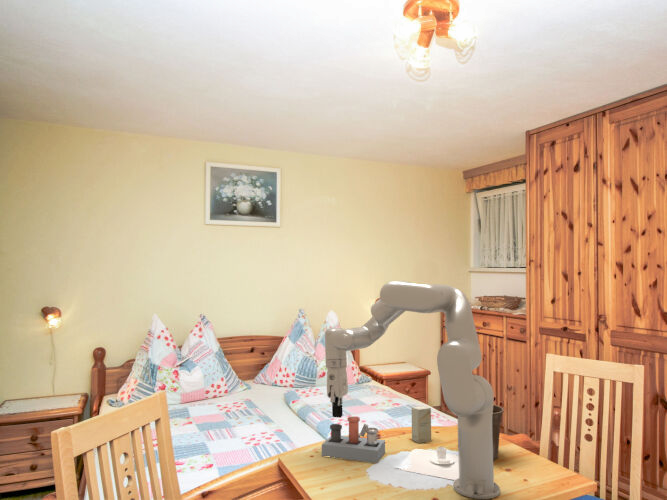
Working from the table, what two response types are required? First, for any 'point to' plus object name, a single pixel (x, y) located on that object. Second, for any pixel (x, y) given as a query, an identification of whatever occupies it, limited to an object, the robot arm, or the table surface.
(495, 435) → the plant pot
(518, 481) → the table surface
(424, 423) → the skincare box
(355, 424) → the plug red
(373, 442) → the plug grey
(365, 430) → the grey white bent piece
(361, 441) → the socket board
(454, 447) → the table surface
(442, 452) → the teacup and saucer
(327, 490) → the table surface
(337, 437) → the plug black
